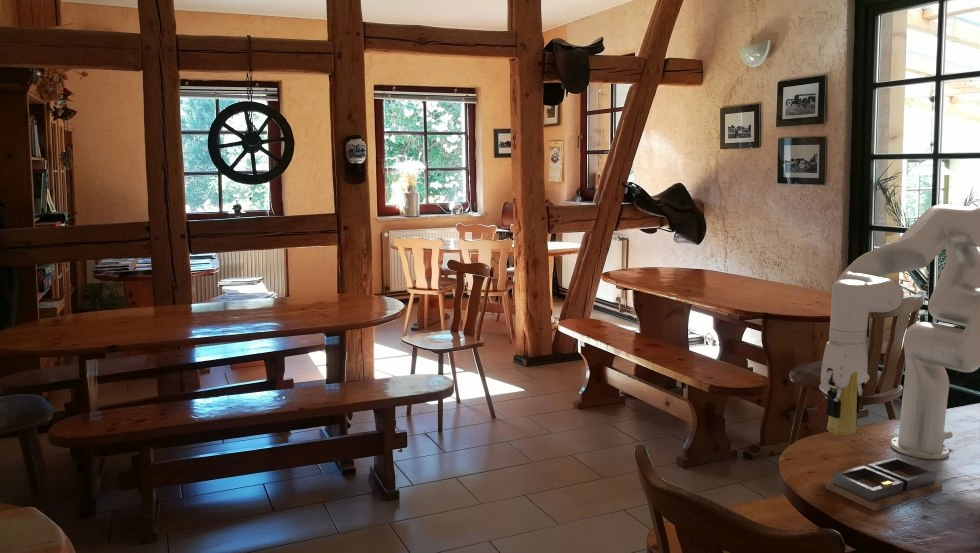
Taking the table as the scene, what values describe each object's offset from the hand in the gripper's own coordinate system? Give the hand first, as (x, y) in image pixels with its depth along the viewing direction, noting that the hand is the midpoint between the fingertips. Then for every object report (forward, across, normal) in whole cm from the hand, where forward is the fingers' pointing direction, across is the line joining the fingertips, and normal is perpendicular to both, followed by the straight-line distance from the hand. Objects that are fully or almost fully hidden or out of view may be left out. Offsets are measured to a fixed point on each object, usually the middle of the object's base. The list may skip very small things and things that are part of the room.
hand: (842, 413), depth 181 cm
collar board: (+14, -1, +11) cm, 18 cm away
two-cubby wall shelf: (+13, -1, +11) cm, 17 cm away
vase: (+4, 0, 0) cm, 4 cm away
